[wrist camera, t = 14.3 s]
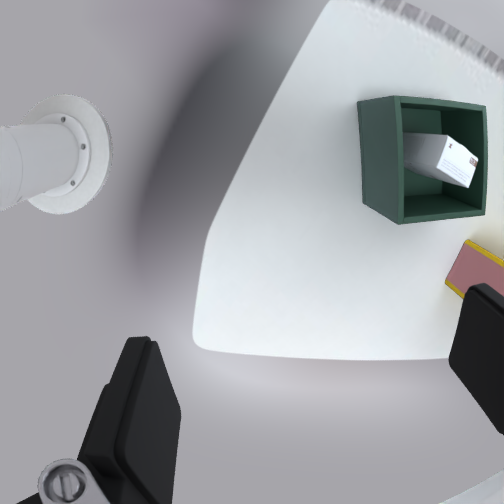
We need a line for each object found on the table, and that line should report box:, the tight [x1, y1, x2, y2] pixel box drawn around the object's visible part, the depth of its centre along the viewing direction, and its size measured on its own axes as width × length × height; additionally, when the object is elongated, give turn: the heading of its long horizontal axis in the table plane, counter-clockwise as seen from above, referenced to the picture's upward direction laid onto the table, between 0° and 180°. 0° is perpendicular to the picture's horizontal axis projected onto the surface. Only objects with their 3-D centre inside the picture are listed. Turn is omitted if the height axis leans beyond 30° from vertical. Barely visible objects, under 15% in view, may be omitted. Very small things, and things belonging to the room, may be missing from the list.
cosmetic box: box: [403, 132, 478, 188], centre depth 36 cm, size 6×4×12 cm
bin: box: [357, 96, 488, 225], centre depth 37 cm, size 15×15×11 cm
